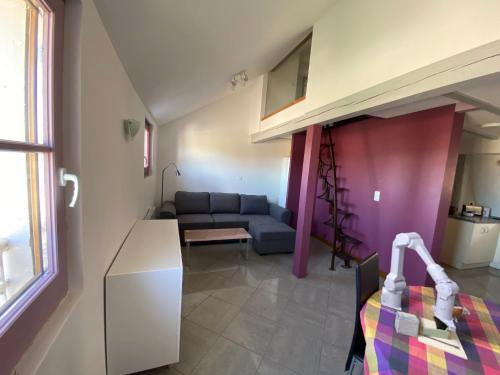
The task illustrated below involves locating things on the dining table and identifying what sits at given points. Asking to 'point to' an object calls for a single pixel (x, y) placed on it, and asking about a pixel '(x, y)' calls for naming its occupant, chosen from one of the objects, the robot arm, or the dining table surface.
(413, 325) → the medicine box
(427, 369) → the dining table surface
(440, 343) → the board
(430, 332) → the hinged fence panel
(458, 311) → the bull figurine
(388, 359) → the dining table surface
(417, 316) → the fixed fence section
